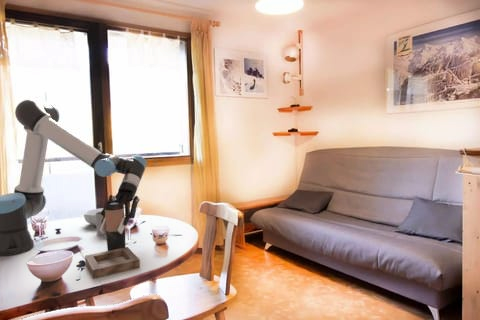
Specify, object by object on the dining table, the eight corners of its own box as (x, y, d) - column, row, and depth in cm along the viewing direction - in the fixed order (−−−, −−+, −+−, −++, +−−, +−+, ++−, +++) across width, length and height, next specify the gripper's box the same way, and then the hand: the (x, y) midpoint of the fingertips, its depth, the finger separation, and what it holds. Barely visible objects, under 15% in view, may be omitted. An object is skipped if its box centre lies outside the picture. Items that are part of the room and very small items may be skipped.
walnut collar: (93, 278, 118) (92, 270, 118) (85, 263, 131) (84, 255, 131) (139, 267, 126) (139, 259, 126) (128, 254, 140) (127, 246, 140)
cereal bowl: (122, 219, 193) (121, 206, 192) (113, 228, 176) (112, 214, 176) (91, 220, 192) (90, 207, 191) (79, 229, 175) (78, 215, 175)
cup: (108, 235, 164) (107, 215, 163) (93, 234, 166) (92, 214, 165) (118, 230, 173) (117, 210, 172) (103, 229, 174) (102, 210, 173)
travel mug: (129, 247, 147) (127, 201, 145) (114, 253, 141) (111, 205, 139) (118, 244, 151) (116, 199, 149) (103, 249, 145) (100, 203, 143)
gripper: (152, 191, 157) (136, 237, 143) (112, 190, 161) (93, 234, 147) (147, 181, 151) (129, 228, 137) (105, 180, 155) (84, 226, 141)
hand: (110, 231), depth 142 cm, fingers closed on travel mug, 7 cm apart
